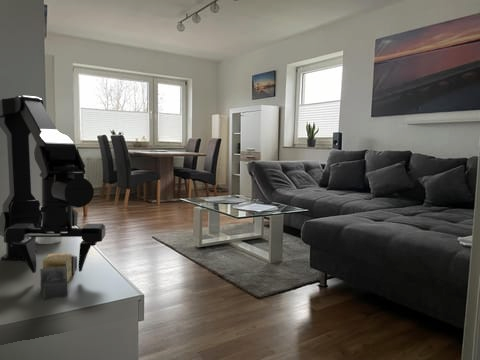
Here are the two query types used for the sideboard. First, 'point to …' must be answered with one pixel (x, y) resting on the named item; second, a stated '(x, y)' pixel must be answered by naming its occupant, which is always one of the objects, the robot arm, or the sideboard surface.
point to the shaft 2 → (74, 264)
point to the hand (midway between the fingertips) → (57, 271)
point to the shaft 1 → (53, 282)
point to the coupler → (59, 262)
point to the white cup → (48, 238)
